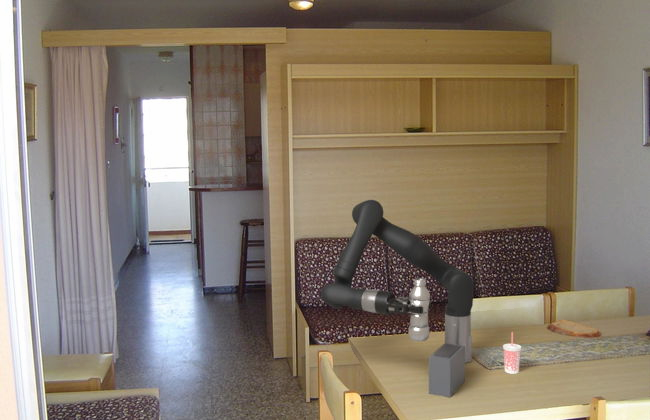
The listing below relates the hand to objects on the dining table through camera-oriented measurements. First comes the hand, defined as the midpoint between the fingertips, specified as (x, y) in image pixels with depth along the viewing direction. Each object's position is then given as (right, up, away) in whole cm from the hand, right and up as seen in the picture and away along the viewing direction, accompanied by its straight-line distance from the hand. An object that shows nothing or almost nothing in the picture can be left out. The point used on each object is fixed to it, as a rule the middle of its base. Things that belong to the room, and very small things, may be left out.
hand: (426, 307), depth 210 cm
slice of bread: (+71, -20, +67) cm, 100 cm away
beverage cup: (+33, -25, +21) cm, 47 cm away
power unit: (+8, -27, +7) cm, 29 cm away
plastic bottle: (-2, -11, +2) cm, 11 cm away
